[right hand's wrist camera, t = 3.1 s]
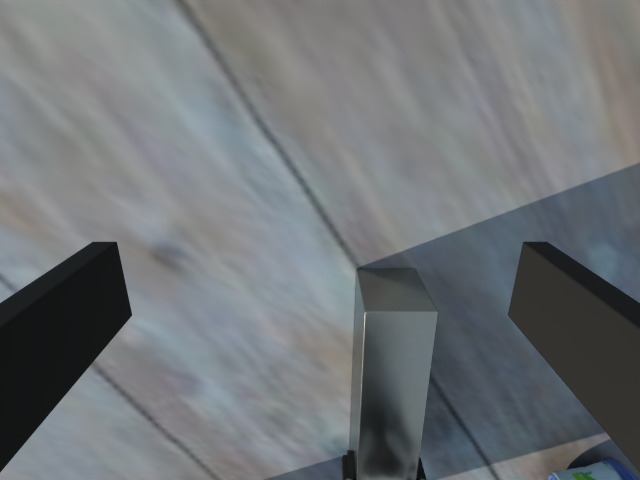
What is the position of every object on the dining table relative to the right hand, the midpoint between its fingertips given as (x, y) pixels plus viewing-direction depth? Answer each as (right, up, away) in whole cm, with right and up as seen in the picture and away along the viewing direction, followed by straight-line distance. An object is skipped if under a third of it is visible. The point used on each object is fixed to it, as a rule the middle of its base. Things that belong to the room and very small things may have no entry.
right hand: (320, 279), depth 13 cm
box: (+7, -14, +32) cm, 36 cm away
